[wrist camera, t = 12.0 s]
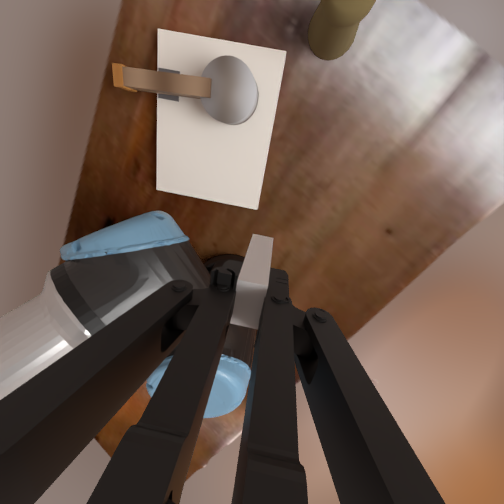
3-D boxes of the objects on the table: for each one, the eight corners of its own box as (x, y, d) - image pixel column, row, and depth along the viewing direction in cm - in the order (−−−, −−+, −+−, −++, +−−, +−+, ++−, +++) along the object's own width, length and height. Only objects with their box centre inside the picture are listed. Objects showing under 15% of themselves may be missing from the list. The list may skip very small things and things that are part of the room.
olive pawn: (297, 36, 32) (304, -12, 22) (333, -14, 30) (358, -93, 20) (331, 71, 33) (351, 40, 23) (367, 25, 31) (407, -31, 21)
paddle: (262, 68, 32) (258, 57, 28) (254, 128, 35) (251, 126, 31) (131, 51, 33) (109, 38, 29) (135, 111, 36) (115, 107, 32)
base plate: (257, 207, 42) (256, 210, 40) (160, 188, 42) (156, 189, 41) (286, 55, 33) (286, 50, 31) (162, 33, 34) (157, 28, 32)
